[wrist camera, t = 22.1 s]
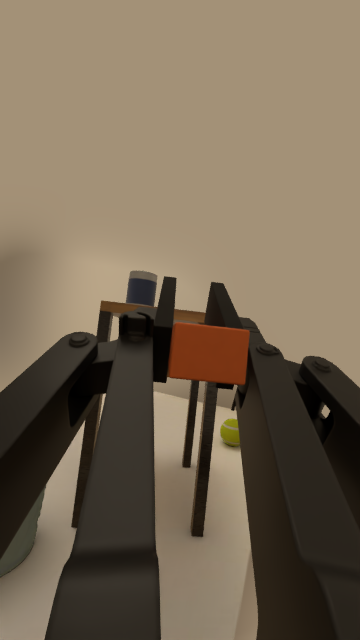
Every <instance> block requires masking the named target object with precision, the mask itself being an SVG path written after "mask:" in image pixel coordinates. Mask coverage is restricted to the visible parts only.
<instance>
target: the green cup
mask: <svg viewBox="0 0 360 640" xmlns="http://www.w3.org/2000/svg"><path fill="white" fill-rule="evenodd" d="M45 488H46V485H45V487H44V488H43V490H42V492H41V493H40V495H39V497H38V498H37V500H36V502H35V503H34V505H33V507H32V508H31V510H30V512H29V513H28V515H27V517H26V518H25V520H24V522H23V523H22V525H21V527H20V528H19V530H18V532H17V533H16V535H15V537H14V538H13V540H12V541H11V543H10V545H9V546H8V548H7V550H6V551H5V553H4V555H3V556H2V558H1V560H0V577H1V576H3V575H5V574H6V573H8V572H10V571H11V570H12V569H14V568H15V567H16V566H18V565H19V564H20V563H21V562H22V561H23V560H24V559H25V558H26V556H27V555H28V554H29V552H30V550H31V548H32V546H33V544H34V540H35V536H36V531H37V526H38V525H37V521H38V518H39V516H40V510H41V507H42V501H43V498H44V491H45Z"/></svg>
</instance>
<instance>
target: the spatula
mask: <svg viewBox="0 0 360 640" xmlns="http://www.w3.org/2000/svg"><path fill="white" fill-rule="evenodd" d="M249 335H250V332H249V330H244V329H235V328H226V327H217V326H208V325H199V324H191V323H182V322H176V323H175V324H174V325H173V328H172V336H171V344H170V352H169V360H168V368H169V377H170V378H176V379H186V380H195V381H205V382H215V383H225V384H235V385H244V384H245V378H246V367H247V357H248V346H249Z"/></svg>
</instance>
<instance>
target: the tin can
mask: <svg viewBox="0 0 360 640" xmlns="http://www.w3.org/2000/svg"><path fill="white" fill-rule="evenodd" d="M156 285H157V275H155V274H153V273H150V272H145V271H131V272H130V277H129V282H128V290H127V298H126V304H135V305H143V306H152V307H154V302H155V293H156Z"/></svg>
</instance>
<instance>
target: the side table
mask: <svg viewBox="0 0 360 640" xmlns="http://www.w3.org/2000/svg"><path fill="white" fill-rule="evenodd" d="M138 307H148V308H157V307H152V306H143V305H135V304H126V303H117V302H109V301H101V306H100V314H99V321H98V330H97V336H96V337H97V340H98V343H101V342H110V334H111V326H112V319H113V316H116V317H118V318H119V316H120V315H121V314H122V313H124V312H128V311H134V310H135V309H137V308H138ZM205 314H206V313H203V312H194V311H186V310H178V309H174V321H173V325H174V324H175V323H176V322H182V323H191V324H199V325H205V323H204V319H205ZM167 377H169V368H168V373H167ZM198 388H199V381H195V380H191V386H190V395H189V405H188V414H187V423H186V433H185V442H184V451H183V461H182V465H183V467H190V465H191V455H192V446H193V436H194V427H195V417H196V407H197V398H198ZM217 392H218V388H216V387H215V382H206V383H205V393H204V402H203V412H202V422H201V431H200V441H199V451H198V460H197V470H196V480H195V489H194V499H193V509H192V518H191V534H192V536H200V537H203V531H204V521H205V511H206V501H207V491H208V481H209V471H210V461H211V452H212V442H213V432H214V422H215V412H216V401H217ZM102 397H103V394H99V396H98V399H97V401H96V402H95V404H94V406H93V407H92V409H91V411H90V412H89V414H88V416H87V417H86V420H85V427H84V435H83V443H82V450H81V458H80V465H79V473H78V480H77V488H76V496H75V503H74V511H73V518H72V526H71V527H75V528H77V526H78V521H79V517H80V512H81V508H82V503H83V498H84V494H85V489H86V485H87V480H88V475H89V471H90V466H91V461H92V457H93V452H94V448H95V443H96V438H97V434H98V428H99V420H100V412H101V404H102Z"/></svg>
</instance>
